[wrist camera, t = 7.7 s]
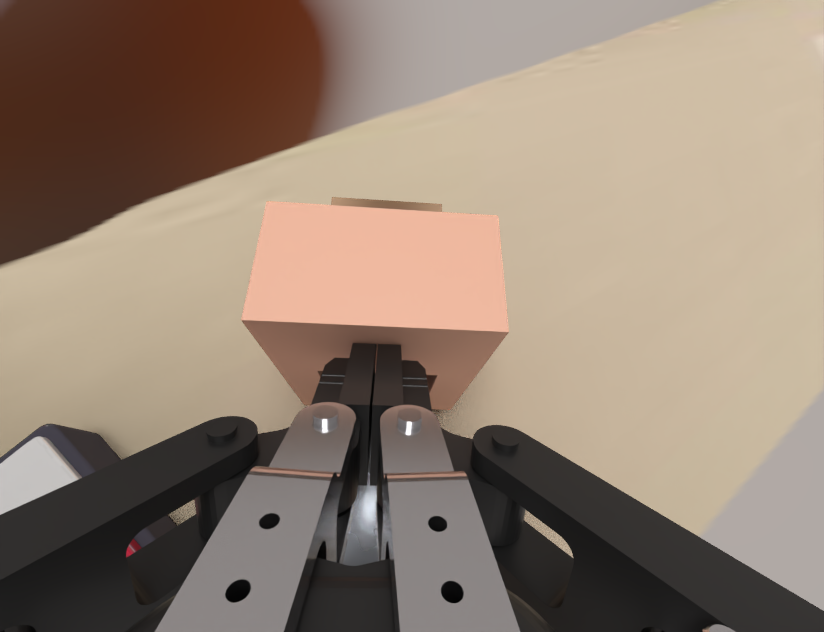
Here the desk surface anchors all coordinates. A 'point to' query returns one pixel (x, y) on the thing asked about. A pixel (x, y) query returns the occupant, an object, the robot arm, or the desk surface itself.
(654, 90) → the desk surface
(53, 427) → the calculator
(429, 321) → the collar
